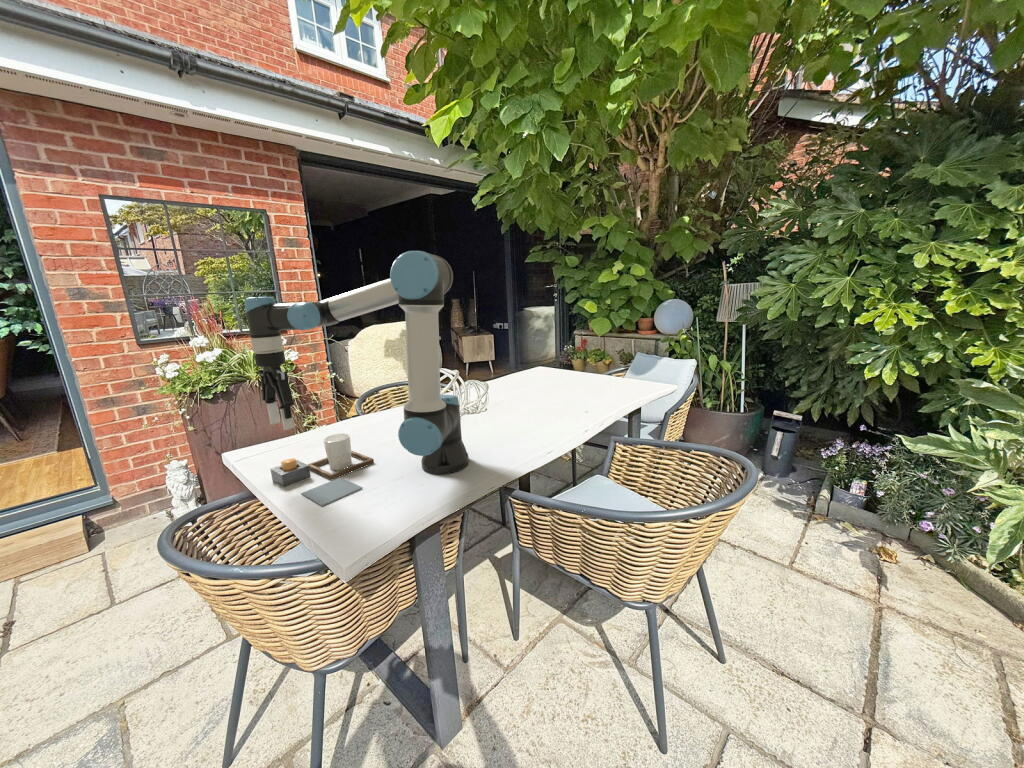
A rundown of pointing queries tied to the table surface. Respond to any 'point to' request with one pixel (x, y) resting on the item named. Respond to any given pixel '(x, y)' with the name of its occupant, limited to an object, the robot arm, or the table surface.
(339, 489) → the mat
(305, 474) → the housing
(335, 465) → the white cup
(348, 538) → the table surface
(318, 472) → the collar
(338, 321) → the robot arm
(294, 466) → the orange rounded block
